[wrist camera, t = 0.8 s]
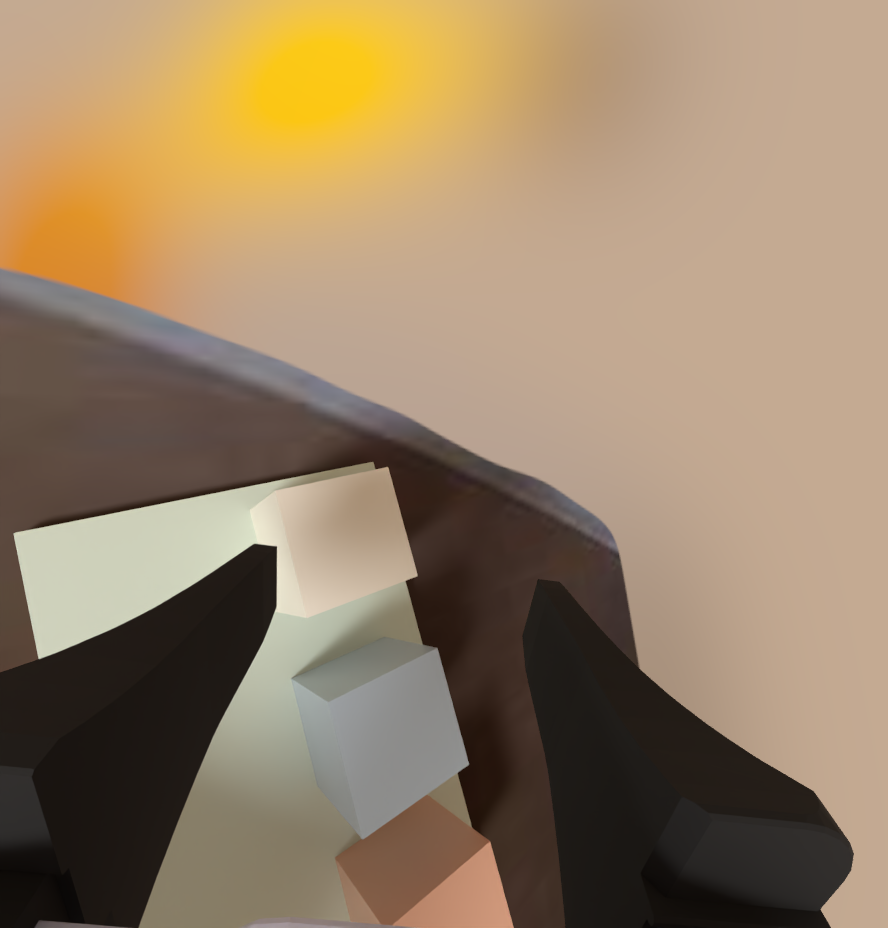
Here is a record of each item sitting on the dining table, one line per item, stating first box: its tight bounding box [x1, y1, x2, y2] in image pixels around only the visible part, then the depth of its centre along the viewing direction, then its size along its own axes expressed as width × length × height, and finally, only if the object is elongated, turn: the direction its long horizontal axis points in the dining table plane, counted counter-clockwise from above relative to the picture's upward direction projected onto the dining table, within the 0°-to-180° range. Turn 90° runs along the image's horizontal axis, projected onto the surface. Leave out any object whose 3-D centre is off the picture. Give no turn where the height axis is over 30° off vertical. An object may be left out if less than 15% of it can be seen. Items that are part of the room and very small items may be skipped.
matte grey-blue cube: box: [291, 637, 469, 840], centre depth 23 cm, size 6×6×6 cm
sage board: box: [14, 462, 472, 928], centre depth 24 cm, size 26×17×1 cm, turn 19°
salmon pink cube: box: [335, 795, 514, 928], centre depth 22 cm, size 6×6×6 cm
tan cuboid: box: [250, 467, 418, 618], centre depth 23 cm, size 6×6×6 cm
